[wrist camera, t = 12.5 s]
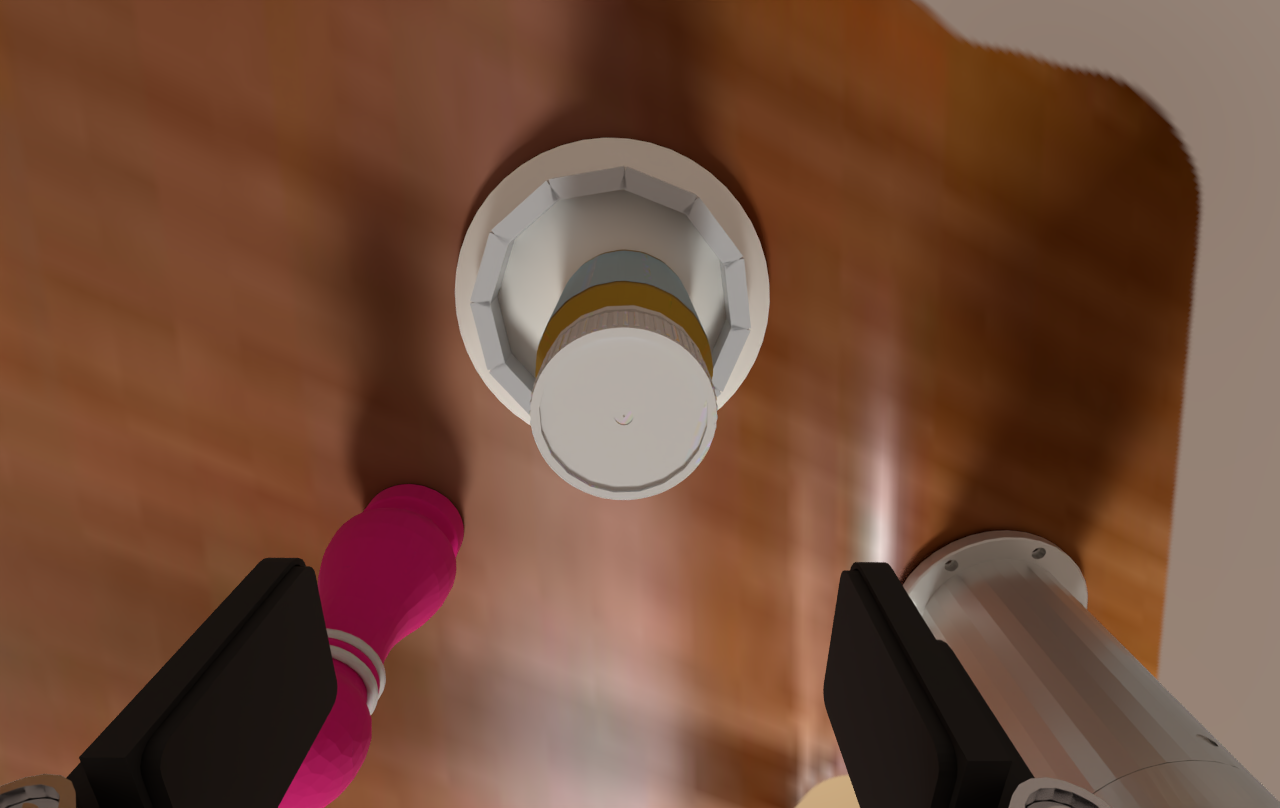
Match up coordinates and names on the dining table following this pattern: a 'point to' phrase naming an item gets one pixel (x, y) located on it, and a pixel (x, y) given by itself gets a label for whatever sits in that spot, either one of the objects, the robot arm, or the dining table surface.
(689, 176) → the collar base
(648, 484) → the bottle
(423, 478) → the dining table surface
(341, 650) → the pepper mill
